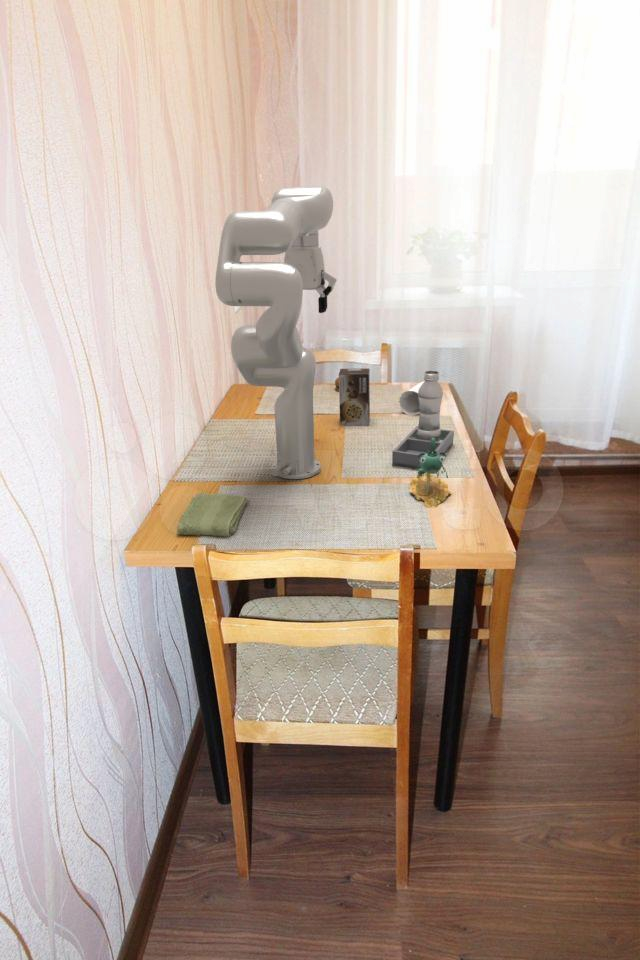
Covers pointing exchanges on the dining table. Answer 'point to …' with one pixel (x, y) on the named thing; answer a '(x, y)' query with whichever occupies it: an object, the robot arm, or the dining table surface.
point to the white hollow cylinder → (410, 400)
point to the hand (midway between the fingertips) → (305, 311)
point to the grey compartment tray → (419, 448)
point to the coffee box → (354, 397)
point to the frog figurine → (430, 479)
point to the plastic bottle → (429, 407)
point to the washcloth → (212, 515)
